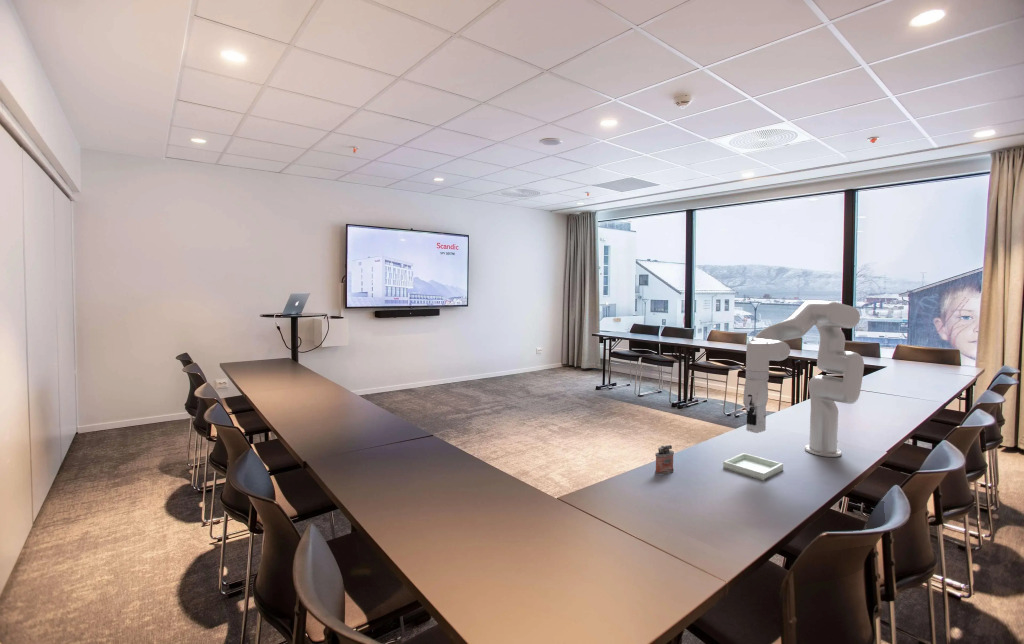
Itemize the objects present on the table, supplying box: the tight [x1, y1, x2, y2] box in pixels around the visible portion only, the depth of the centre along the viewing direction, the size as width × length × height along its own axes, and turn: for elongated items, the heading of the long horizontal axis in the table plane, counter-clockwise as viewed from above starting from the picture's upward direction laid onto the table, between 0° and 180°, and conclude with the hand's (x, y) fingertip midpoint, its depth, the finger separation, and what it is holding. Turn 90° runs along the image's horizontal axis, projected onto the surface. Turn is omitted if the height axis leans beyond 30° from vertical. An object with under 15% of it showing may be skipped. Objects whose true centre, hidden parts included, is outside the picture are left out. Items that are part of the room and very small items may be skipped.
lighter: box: [654, 444, 675, 475], centre depth 177 cm, size 8×3×10 cm, turn 117°
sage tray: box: [722, 452, 784, 481], centre depth 179 cm, size 15×15×2 cm
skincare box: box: [745, 402, 767, 434], centre depth 177 cm, size 6×4×12 cm
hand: (755, 422), depth 177 cm, fingers closed on skincare box, 6 cm apart
